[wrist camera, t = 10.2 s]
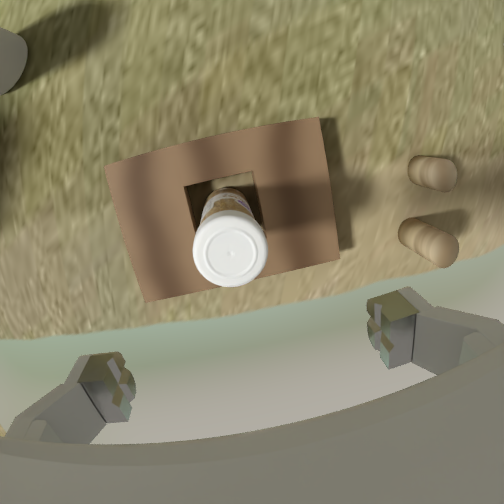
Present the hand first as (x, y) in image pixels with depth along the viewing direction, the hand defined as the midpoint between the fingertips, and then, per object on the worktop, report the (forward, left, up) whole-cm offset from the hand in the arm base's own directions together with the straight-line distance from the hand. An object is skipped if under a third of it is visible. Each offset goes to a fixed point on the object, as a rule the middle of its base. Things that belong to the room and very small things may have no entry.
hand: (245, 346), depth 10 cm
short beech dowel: (-22, 0, -23) cm, 32 cm away
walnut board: (0, 0, -23) cm, 23 cm away
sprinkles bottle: (0, 0, -23) cm, 23 cm away
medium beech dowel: (-20, +7, -23) cm, 31 cm away
